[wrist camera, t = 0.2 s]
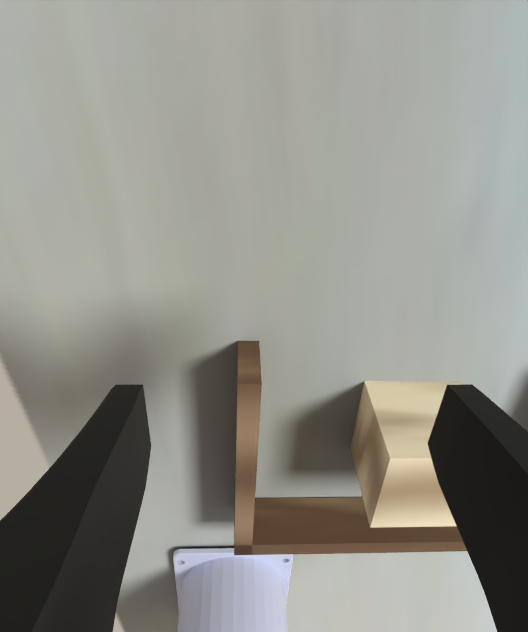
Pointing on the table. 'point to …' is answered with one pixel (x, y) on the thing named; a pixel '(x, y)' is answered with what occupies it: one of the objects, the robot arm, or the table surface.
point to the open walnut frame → (306, 499)
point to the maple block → (399, 454)
